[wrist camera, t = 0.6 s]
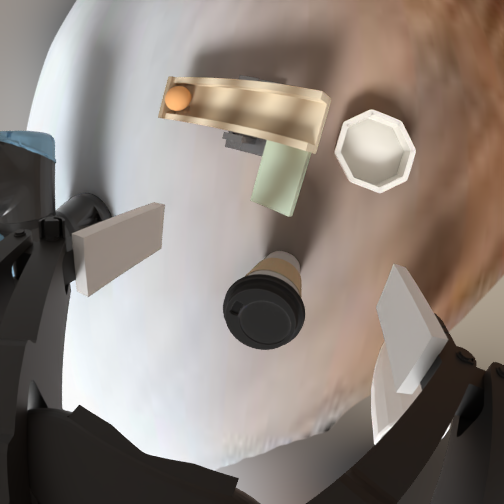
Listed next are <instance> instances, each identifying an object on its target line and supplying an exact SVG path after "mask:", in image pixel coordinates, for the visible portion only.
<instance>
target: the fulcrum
mask: <svg viewBox="0 0 504 504" xmlns="http://www.w3.org/2000/svg"><path fill="white" fill-rule="evenodd" d="M239 80H251V81H260V82H269V83H276V82H271V81H266V80H261V79H259V78H254V77H248V76H242V75H240V76H239ZM276 84H280V83H276ZM284 85H285V84H284ZM223 139H227V140H226V144H225V147H228V148H232V149H236V150H240V151H244V152H248V153H252V154H255V155H259V156H263V152H264V149H265V145H266V141H267V140H265V139H262V138H258V137H254V136H250V135H246V134H241V133H237V132H233V131H229V133H226V132H224V134H223Z"/></svg>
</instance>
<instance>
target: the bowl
mask: <svg viewBox="0 0 504 504" xmlns="http://www.w3.org/2000/svg"><path fill="white" fill-rule="evenodd" d="M415 153H416V151H415V147H414V145H413V143H412V141H411V139H410V137H409V135H408V133H407V131H406V129H405V127H404V125H403V123H402V122H401V121H400V120H398V119H395V118H393V117H390V116H388V115H386V114H383V113H381V112H378V111H375V110H373V109H372V110H371V109H370V110H368V111H366V112H364V113H362V114H359V115H357V116H355V117H353V118H351V119H349V120H347V121H345V122H344V123H343V124H342V127H341V130H340V134H339V137H338V140H337V144H336V147H335V151H334V154H335V156H336V158H337V160H338V162H339V164H340V166H341V167H342V169H343V171H344V173H345V175H346V177H347V179H348V180H349V181H350V182H351V183H354V184H357V185H359V186H362V187H365V188H367V189H370V190H372V191H375V192H378V193H382V192H384V191H386V190H388V189H390V188H392V187H395V186H397V185H399V184H401V183H403V182H405V181H407V179H408V176H409V173H410V170H411V166H412V163H413V160H414V156H415Z"/></svg>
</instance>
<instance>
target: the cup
mask: <svg viewBox="0 0 504 504" xmlns="http://www.w3.org/2000/svg"><path fill="white" fill-rule="evenodd" d="M421 391H422V389H421V385H420V384H419V386H418V387H417V388H416V390H415V391H414V392H413V394H404V393H396V389H395V384H394V379H393V374H392V370H391V365H390V361H389V356H388V352H387V348H386V343H385V342H384V343H383V345H382V347H381V349H380V352H379V355H378V358H377V362H376V365H375V369H374V375H373V381H372V387H371V414H372V424H373V436H374V444H375V445H376V443H377V442H378V441H379V440H380V439H381V438H382V437H383V436H384V435H385V434H386V433H387V432H388V431H389V430H390V429H391V428H392V426H393V425H394V424H395V423H396V422H397V421H398V420H399V418H400V417H401V416H402V415H403V414H404V413H405V411H406V410H407V409H408V408H409V407H410V405H411V404H412V403H413V402H414V400H415V399H416V398H417V396H418V395H419V394H420V393H421ZM449 428H450V425H449V427H448V428H447V430H446V432H445V434H446V433H447V431H448V430H449ZM445 434H444V435H445ZM443 437H444V436H443ZM443 437H442V438H443Z"/></svg>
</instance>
